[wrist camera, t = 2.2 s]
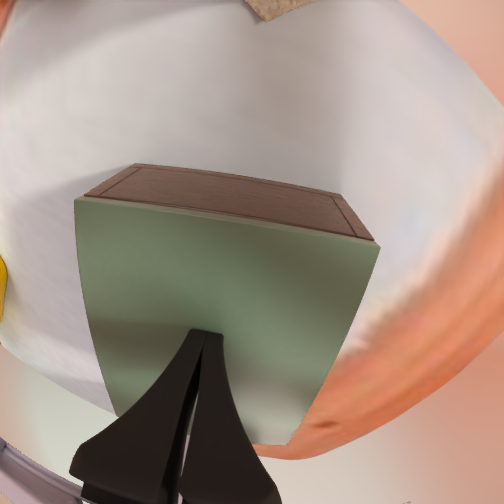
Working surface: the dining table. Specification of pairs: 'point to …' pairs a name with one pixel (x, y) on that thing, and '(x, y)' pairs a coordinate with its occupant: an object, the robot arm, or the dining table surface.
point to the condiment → (275, 7)
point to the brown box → (233, 197)
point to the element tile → (2, 286)
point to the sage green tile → (219, 302)
